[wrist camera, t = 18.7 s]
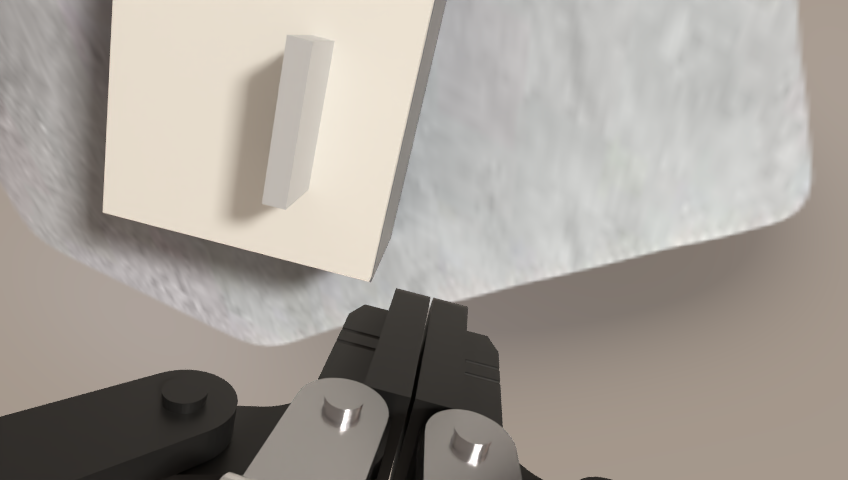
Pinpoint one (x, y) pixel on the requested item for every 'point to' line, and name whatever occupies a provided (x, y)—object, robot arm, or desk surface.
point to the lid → (262, 121)
